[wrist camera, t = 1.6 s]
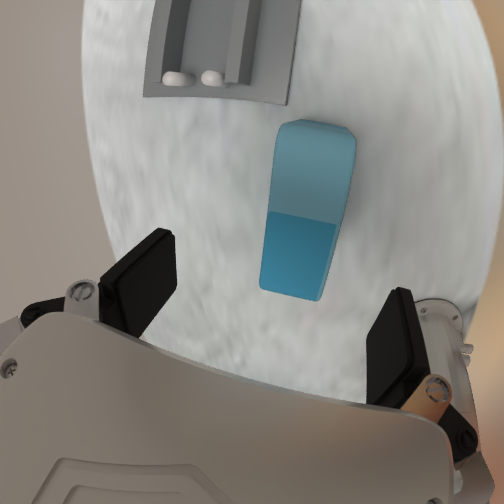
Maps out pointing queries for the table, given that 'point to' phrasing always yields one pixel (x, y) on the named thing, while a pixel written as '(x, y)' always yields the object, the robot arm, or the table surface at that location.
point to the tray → (222, 49)
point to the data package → (305, 206)
